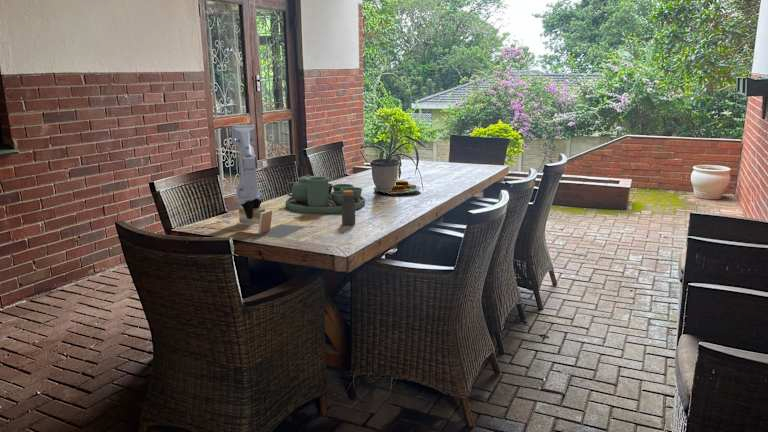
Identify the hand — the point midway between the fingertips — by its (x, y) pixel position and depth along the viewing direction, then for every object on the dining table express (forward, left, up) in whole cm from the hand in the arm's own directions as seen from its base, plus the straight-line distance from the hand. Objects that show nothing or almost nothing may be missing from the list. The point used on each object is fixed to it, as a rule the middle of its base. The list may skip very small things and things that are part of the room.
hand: (252, 217), depth 253 cm
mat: (-5, +11, -6) cm, 13 cm away
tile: (0, +5, -6) cm, 8 cm away
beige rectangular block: (0, 0, -2) cm, 2 cm away
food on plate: (-108, +24, -7) cm, 111 cm away
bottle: (-28, +31, -7) cm, 42 cm away
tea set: (-61, +2, -7) cm, 61 cm away
